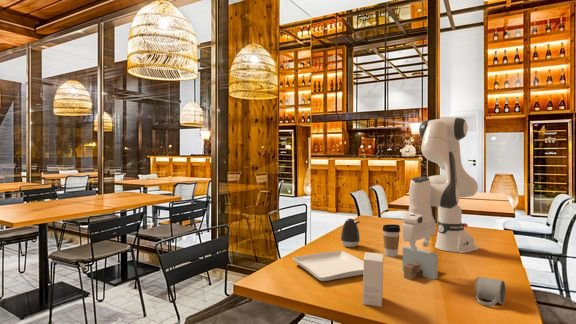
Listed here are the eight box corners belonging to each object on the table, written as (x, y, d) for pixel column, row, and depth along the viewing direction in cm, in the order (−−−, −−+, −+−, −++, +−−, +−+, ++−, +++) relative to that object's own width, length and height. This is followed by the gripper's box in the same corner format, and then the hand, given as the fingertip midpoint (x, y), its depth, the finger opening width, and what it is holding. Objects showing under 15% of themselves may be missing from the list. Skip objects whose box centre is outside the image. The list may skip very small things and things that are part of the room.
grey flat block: (402, 270, 145) (402, 247, 145) (406, 268, 147) (406, 246, 147) (433, 279, 134) (434, 254, 134) (437, 277, 136) (437, 253, 136)
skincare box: (364, 294, 120) (364, 251, 119) (383, 297, 118) (383, 253, 117) (362, 305, 111) (362, 258, 111) (382, 307, 110) (383, 260, 109)
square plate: (291, 264, 153) (291, 256, 153) (342, 257, 164) (342, 249, 164) (319, 286, 128) (319, 276, 128) (377, 276, 139) (377, 266, 139)
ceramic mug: (479, 293, 121) (479, 272, 121) (506, 300, 115) (506, 278, 115) (470, 303, 113) (470, 280, 113) (498, 311, 108) (498, 287, 107)
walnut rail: (426, 268, 147) (426, 257, 147) (433, 270, 145) (433, 258, 145) (404, 277, 136) (404, 265, 136) (410, 280, 134) (410, 267, 133)
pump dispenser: (355, 249, 176) (355, 221, 175) (337, 246, 182) (337, 218, 182) (363, 245, 184) (363, 218, 183) (346, 242, 190) (346, 216, 190)
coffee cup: (401, 258, 162) (401, 227, 161) (382, 257, 163) (383, 226, 163) (398, 253, 170) (399, 223, 170) (381, 252, 172) (381, 223, 171)
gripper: (425, 211, 149) (425, 242, 150) (399, 218, 136) (399, 251, 137) (439, 213, 144) (439, 245, 145) (414, 220, 131) (414, 255, 132)
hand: (419, 248), depth 141 cm, fingers open, 8 cm apart
